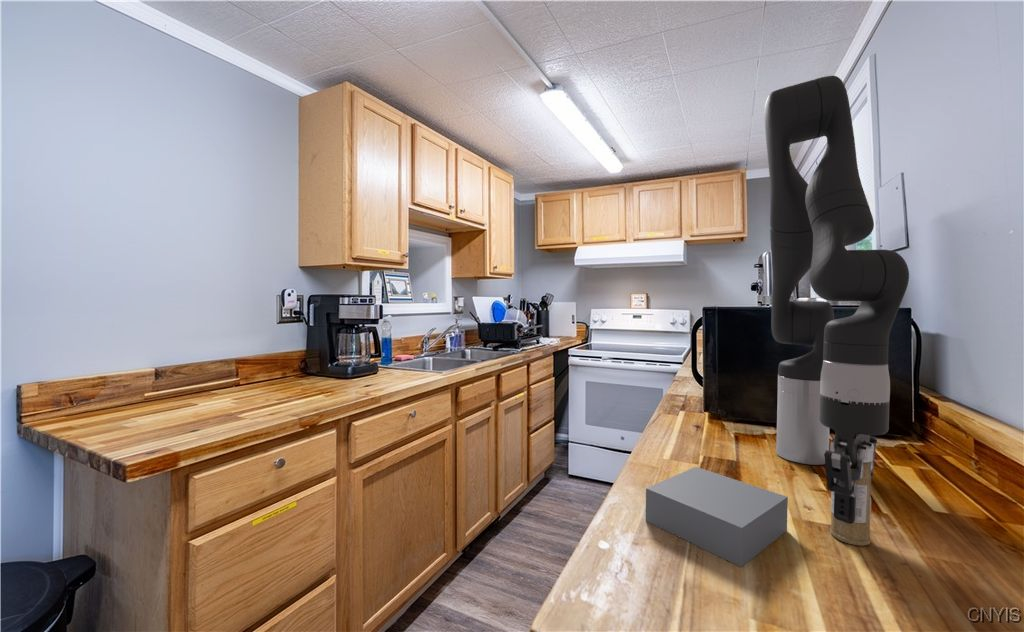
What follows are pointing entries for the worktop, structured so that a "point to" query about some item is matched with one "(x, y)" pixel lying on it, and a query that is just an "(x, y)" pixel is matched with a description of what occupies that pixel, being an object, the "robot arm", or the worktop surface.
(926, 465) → the worktop surface
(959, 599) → the worktop surface
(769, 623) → the worktop surface
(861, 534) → the spice jar
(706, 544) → the grey block
